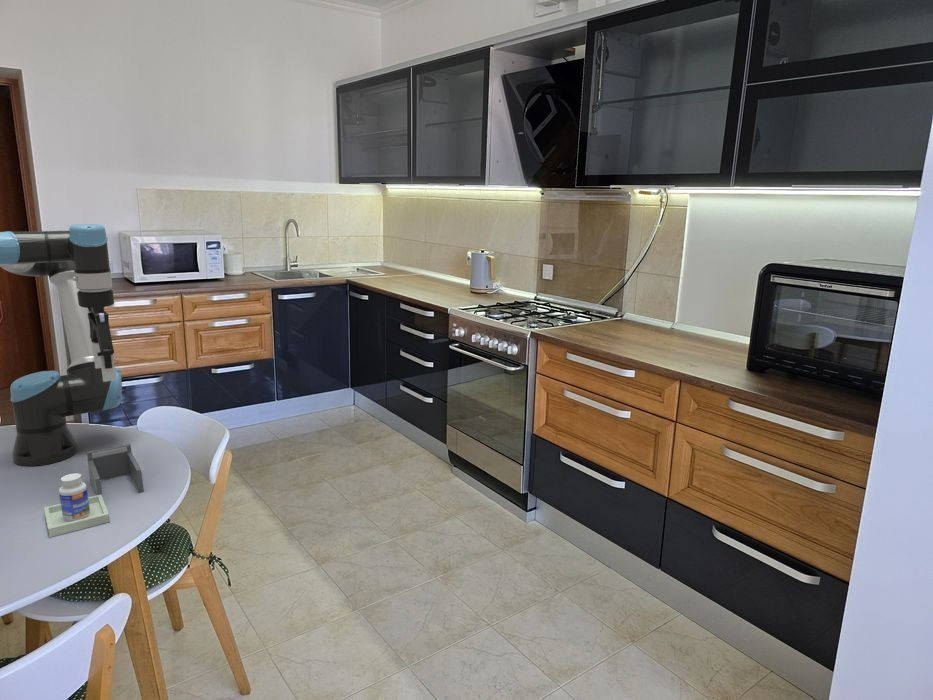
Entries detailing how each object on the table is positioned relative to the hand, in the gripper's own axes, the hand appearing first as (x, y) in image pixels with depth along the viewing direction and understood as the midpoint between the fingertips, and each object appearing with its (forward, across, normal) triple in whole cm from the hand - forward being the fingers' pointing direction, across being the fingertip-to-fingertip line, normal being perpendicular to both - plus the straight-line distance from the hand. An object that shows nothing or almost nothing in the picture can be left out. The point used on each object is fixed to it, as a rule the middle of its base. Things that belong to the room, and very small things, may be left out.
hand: (105, 374), depth 159 cm
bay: (+29, +4, -1) cm, 29 cm away
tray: (+29, +17, -11) cm, 35 cm away
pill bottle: (+28, +17, -11) cm, 35 cm away
